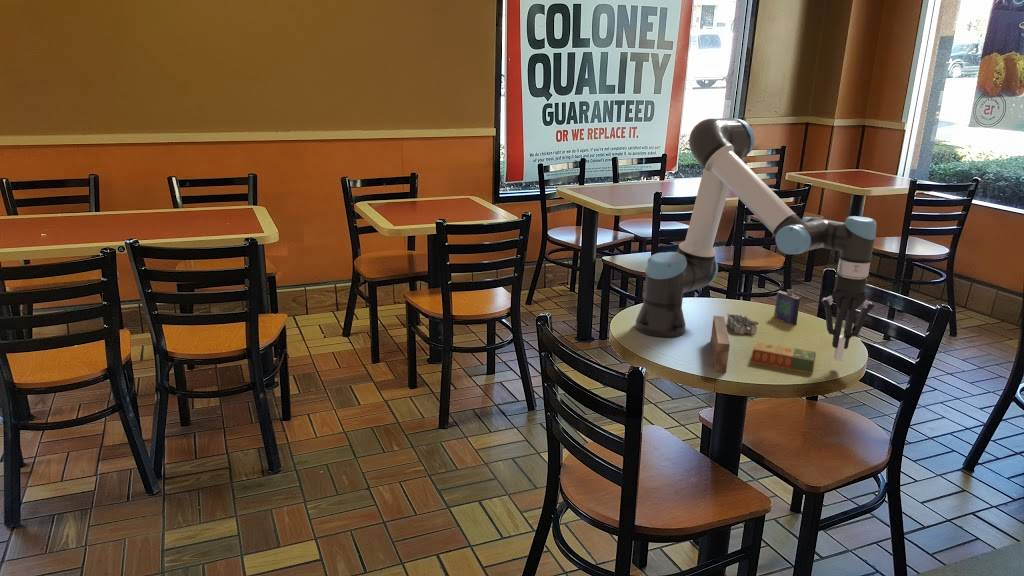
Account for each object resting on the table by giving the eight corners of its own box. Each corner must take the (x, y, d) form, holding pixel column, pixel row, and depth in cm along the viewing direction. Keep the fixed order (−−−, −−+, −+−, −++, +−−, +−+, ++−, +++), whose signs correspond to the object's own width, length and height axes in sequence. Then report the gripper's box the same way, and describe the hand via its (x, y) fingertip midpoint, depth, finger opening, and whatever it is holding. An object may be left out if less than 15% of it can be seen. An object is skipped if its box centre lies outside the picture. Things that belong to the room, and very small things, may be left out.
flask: (771, 316, 244) (776, 285, 241) (778, 315, 245) (783, 285, 242) (792, 325, 236) (797, 293, 233) (799, 324, 237) (804, 293, 234)
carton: (754, 354, 211) (756, 340, 210) (814, 365, 205) (816, 350, 204) (750, 363, 204) (752, 348, 203) (812, 375, 198) (815, 360, 196)
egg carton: (758, 335, 226) (760, 323, 225) (733, 335, 226) (735, 322, 225) (747, 324, 237) (749, 312, 235) (724, 323, 237) (726, 311, 235)
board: (714, 371, 197) (718, 343, 194) (710, 341, 219) (713, 315, 217) (726, 372, 196) (729, 344, 194) (720, 342, 219) (724, 316, 216)
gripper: (828, 277, 192) (814, 361, 199) (882, 281, 189) (866, 366, 196) (823, 270, 199) (810, 351, 206) (874, 274, 197) (859, 356, 203)
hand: (837, 358), depth 201 cm, fingers closed
